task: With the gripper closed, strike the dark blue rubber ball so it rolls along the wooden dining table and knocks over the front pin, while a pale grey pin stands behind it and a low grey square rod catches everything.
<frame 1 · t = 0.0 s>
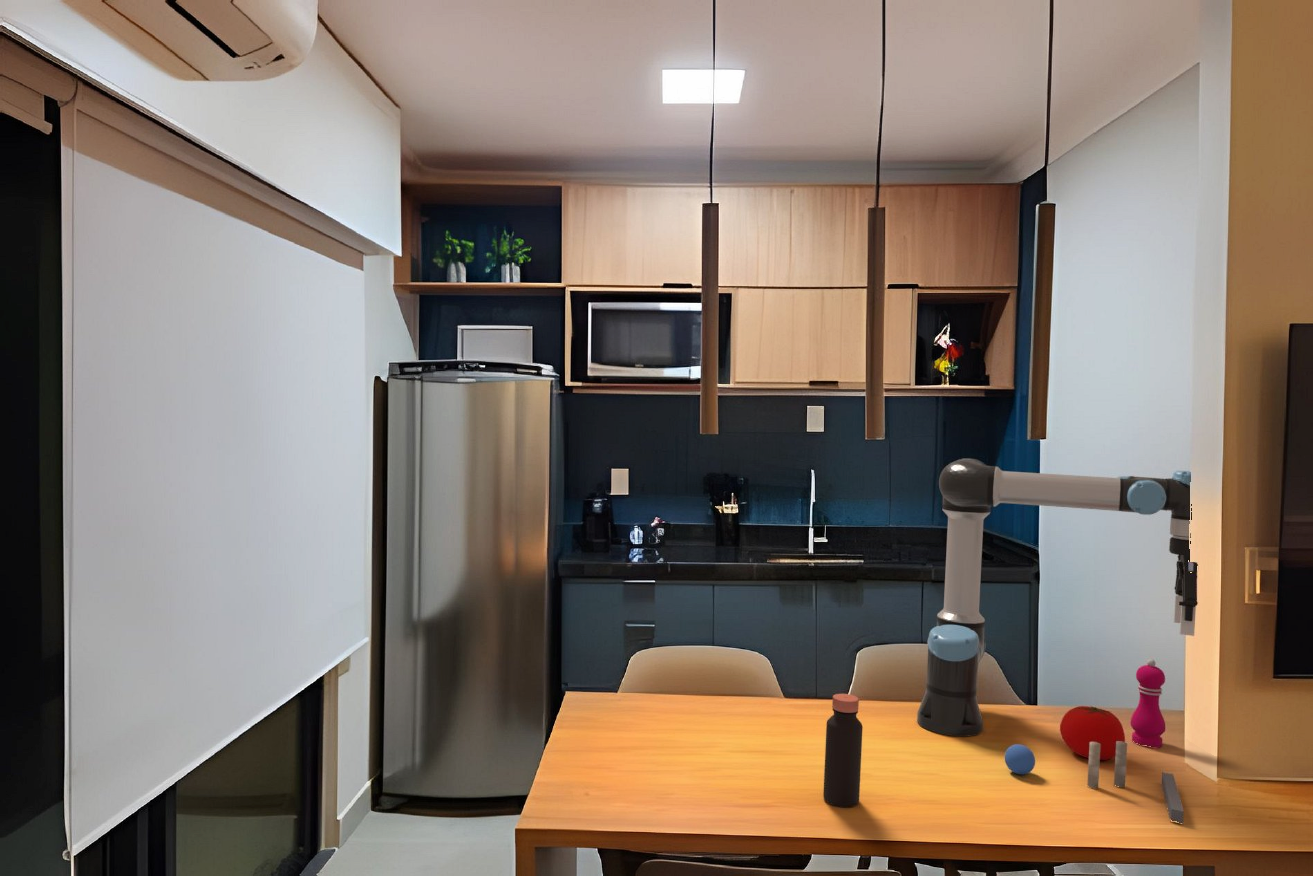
hand: (1183, 628, 205), 28 cm above the table, tool pointing down, fingers open, 13 cm apart
back pin: (1119, 786, 182), on the table
bottle: (840, 801, 169), on the table
ball: (1019, 759, 186), on the table
front pin: (1092, 787, 181), on the table
pepper mill: (1146, 744, 208), on the table
grey square rod: (1171, 803, 174), on the table
tomato: (1091, 756, 198), on the table
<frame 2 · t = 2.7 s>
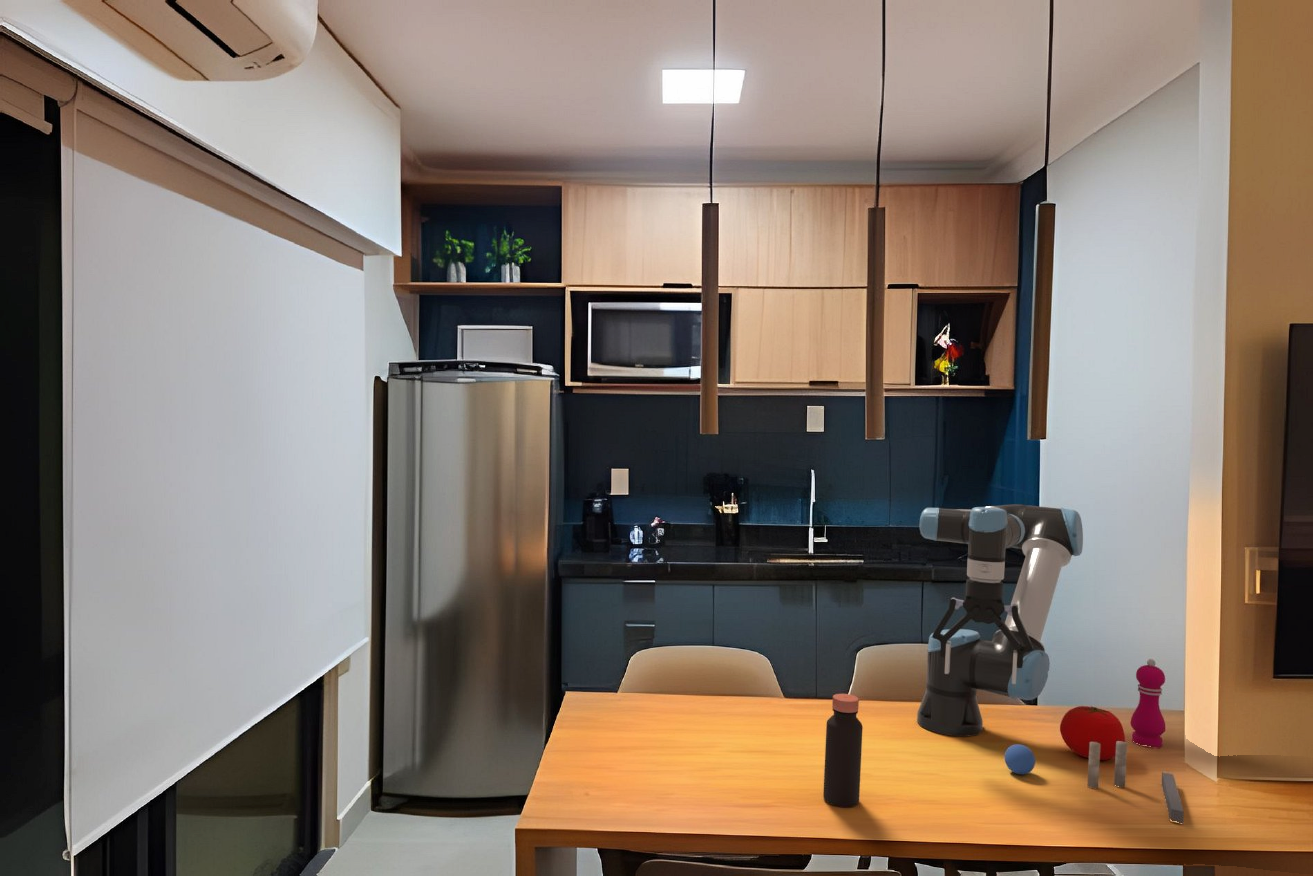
hand: (979, 677, 190), 19 cm above the table, tool pointing down, fingers open, 13 cm apart
nothing on the table moved.
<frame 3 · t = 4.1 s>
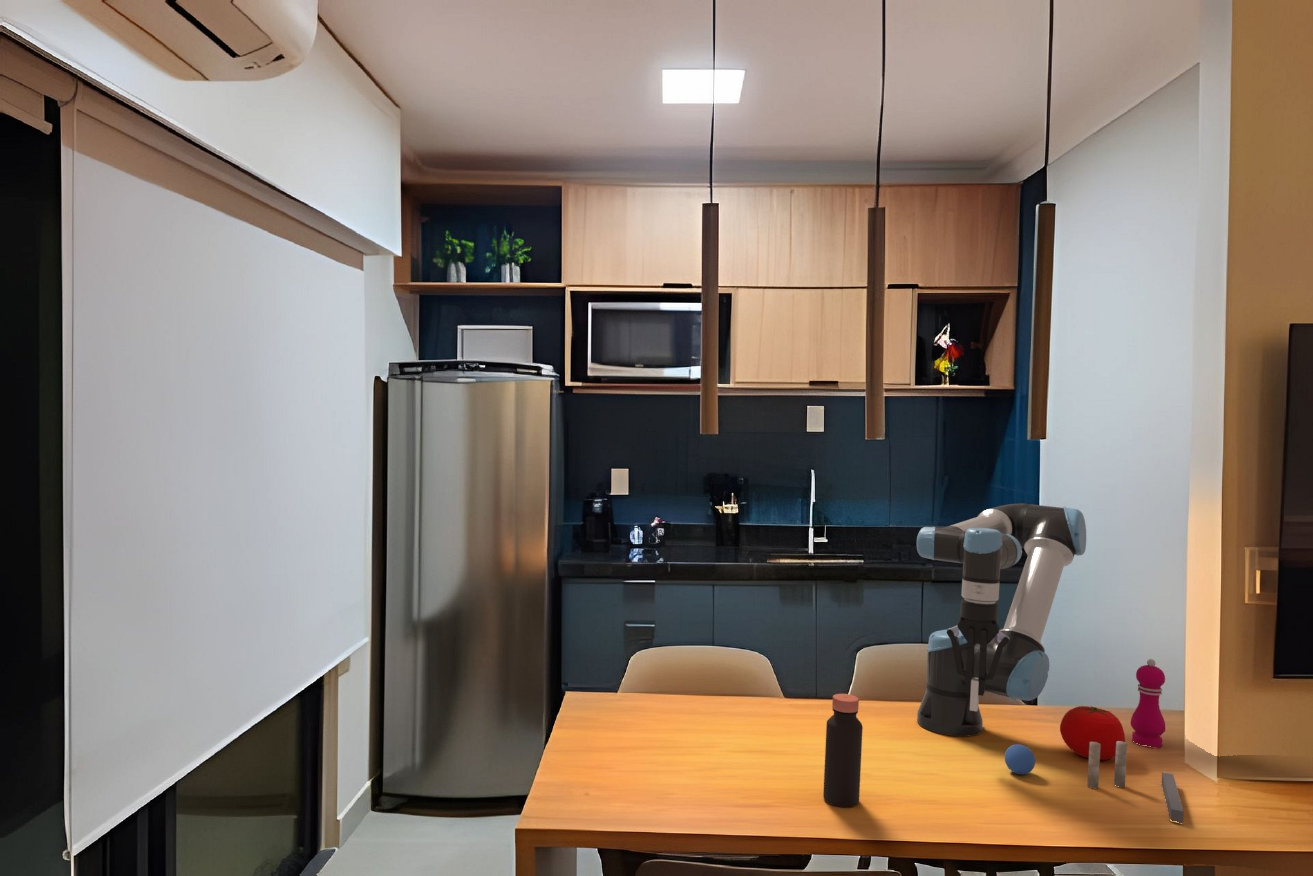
hand: (973, 709, 190), 12 cm above the table, tool pointing down, fingers closed
nothing on the table moved.
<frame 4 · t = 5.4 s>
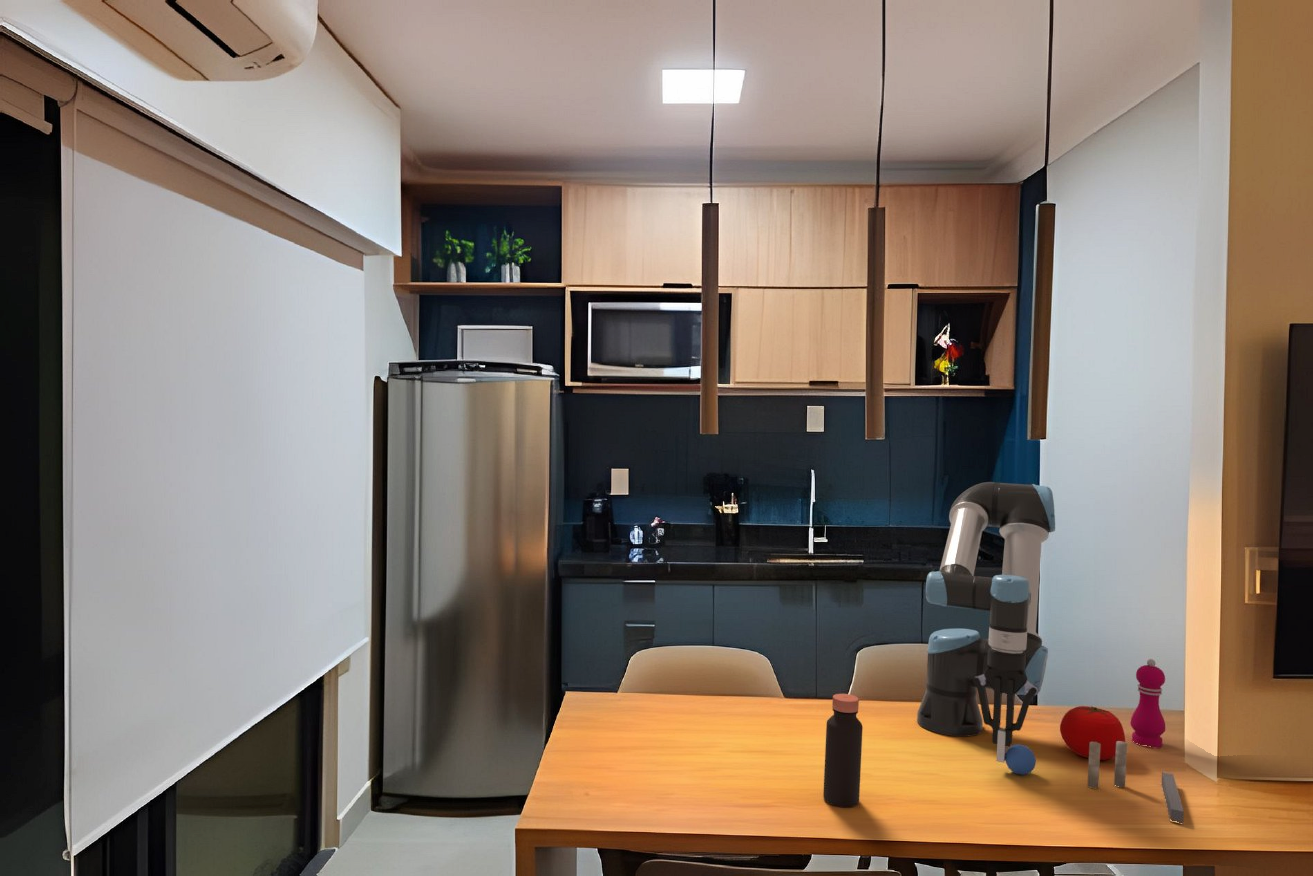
hand: (1001, 760, 187), 3 cm above the table, tool pointing down, fingers closed
ball: (1020, 759, 186), on the table, touching gripper
everything else where it was.
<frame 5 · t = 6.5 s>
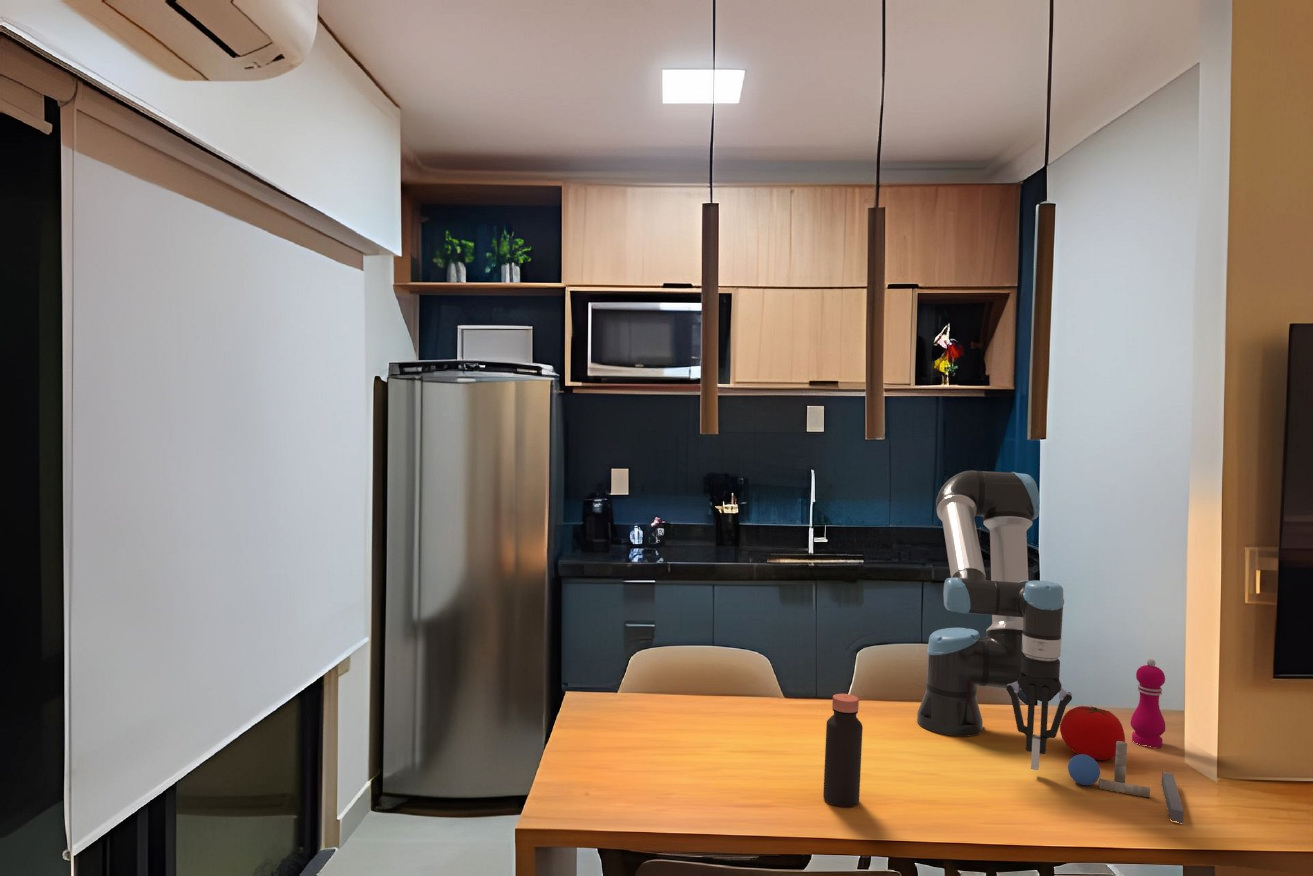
hand: (1034, 767, 185), 2 cm above the table, tool pointing down, fingers closed
ball: (1083, 769, 182), on the table
front pin: (1099, 784, 180), point 1 cm above the table, tilted 90°
everything else where it was.
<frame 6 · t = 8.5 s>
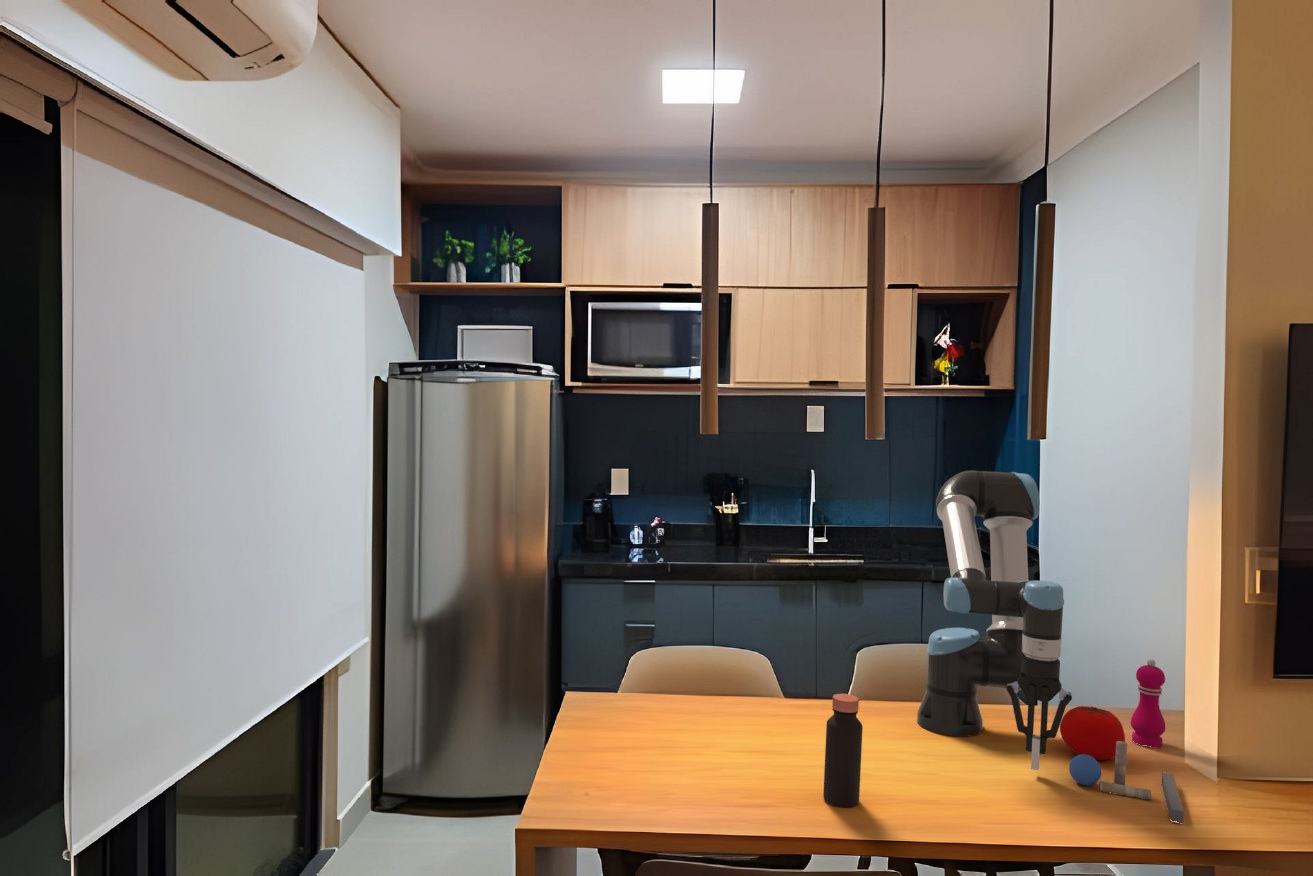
hand: (1034, 767, 185), 2 cm above the table, tool pointing down, fingers closed
front pin: (1100, 786, 179), point 1 cm above the table, tilted 90°
everything else where it was.
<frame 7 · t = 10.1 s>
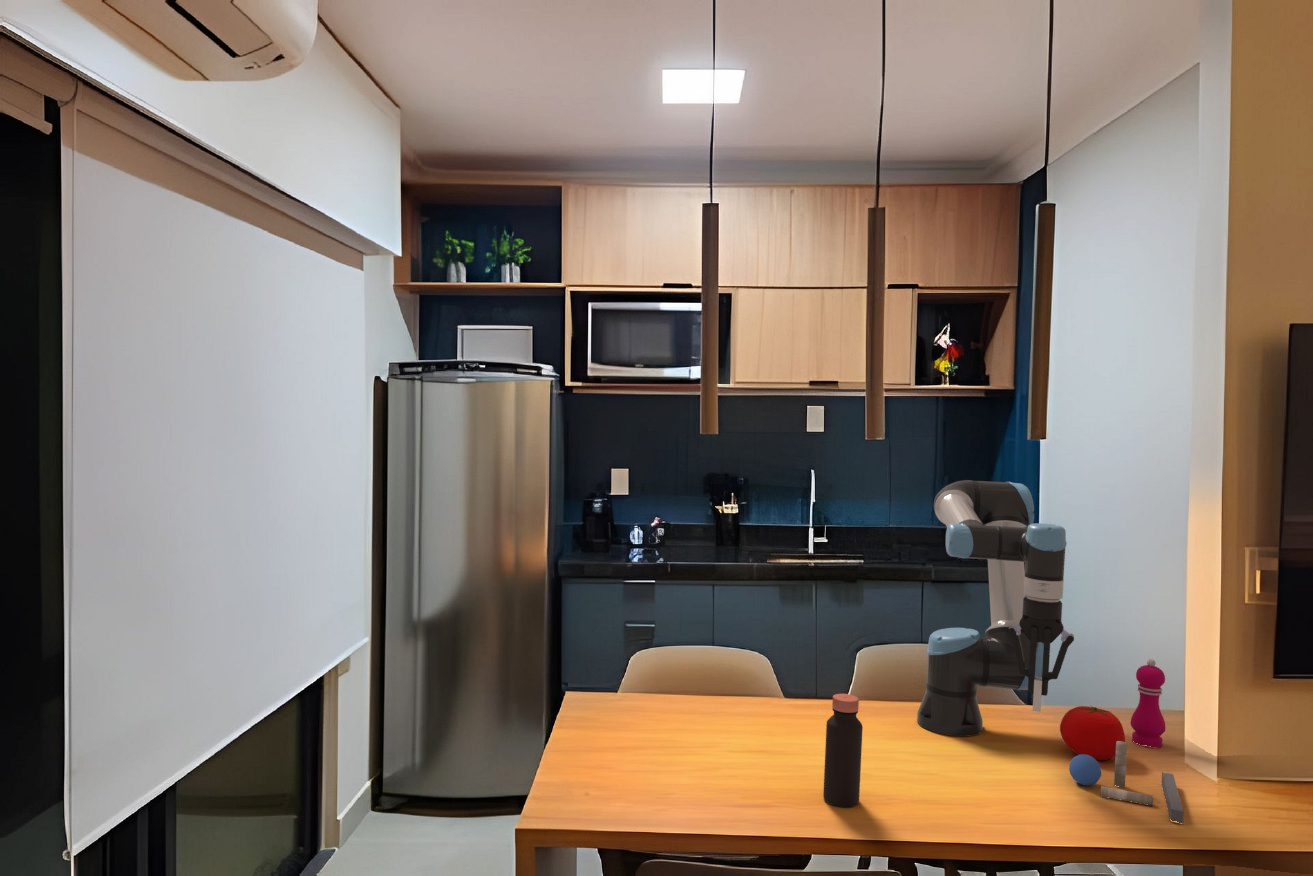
hand: (1036, 709, 185), 14 cm above the table, tool pointing down, fingers closed
front pin: (1101, 791, 176), point 1 cm above the table, tilted 90°
everything else where it was.
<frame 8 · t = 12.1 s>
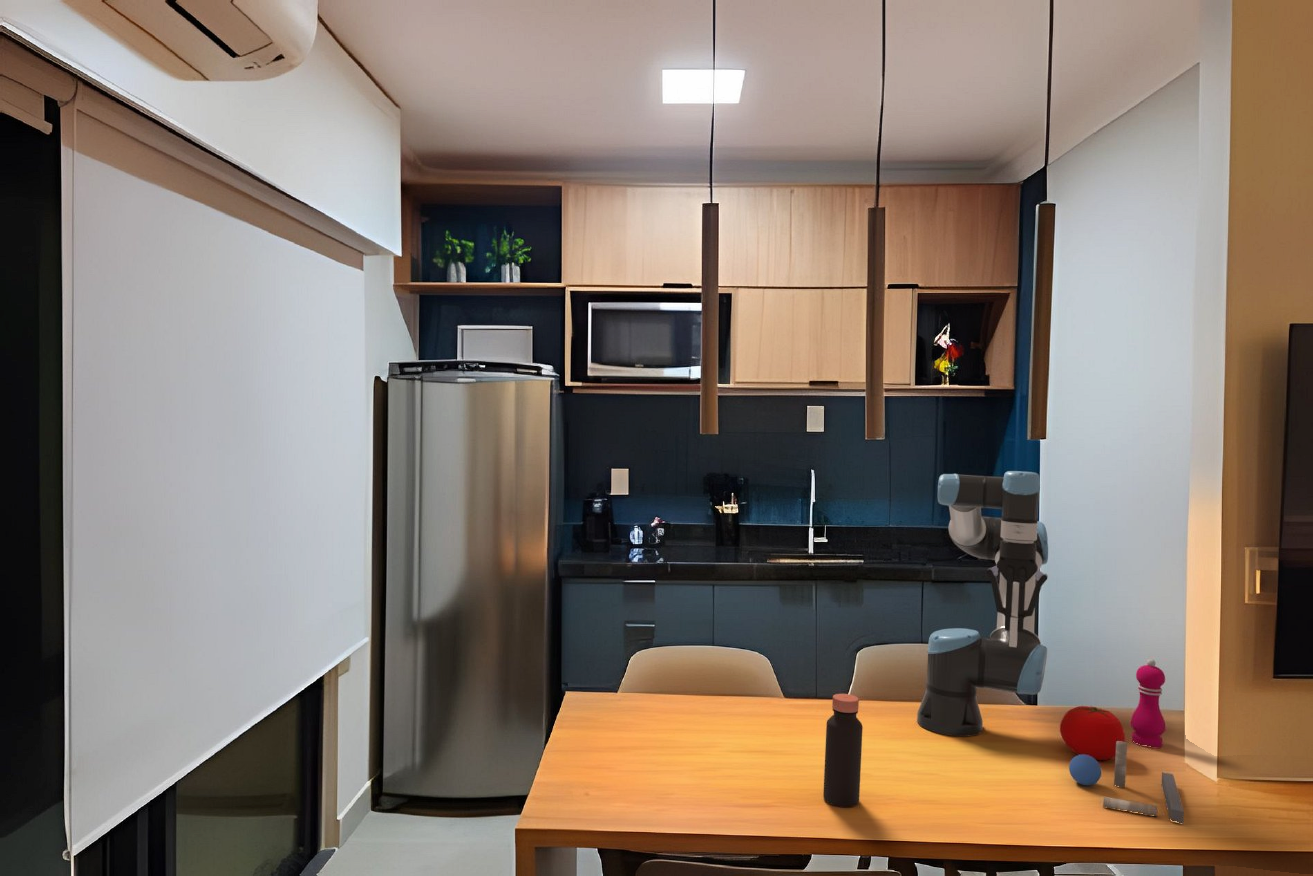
hand: (1013, 645, 197), 24 cm above the table, tool pointing down, fingers closed
front pin: (1103, 802, 171), point 1 cm above the table, tilted 90°
everything else where it was.
at the end: front pin tilted 90°; front pin never touched the robot; ball moved 12.5 cm from its start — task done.
